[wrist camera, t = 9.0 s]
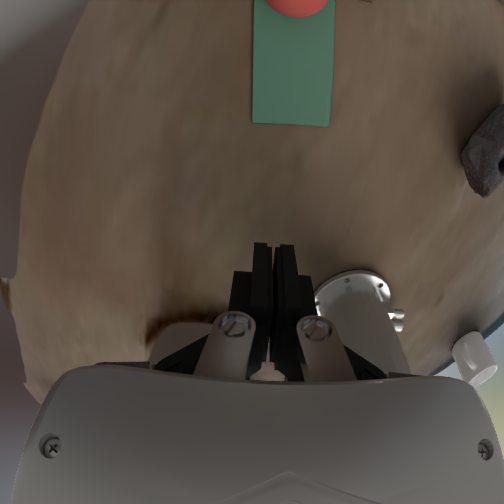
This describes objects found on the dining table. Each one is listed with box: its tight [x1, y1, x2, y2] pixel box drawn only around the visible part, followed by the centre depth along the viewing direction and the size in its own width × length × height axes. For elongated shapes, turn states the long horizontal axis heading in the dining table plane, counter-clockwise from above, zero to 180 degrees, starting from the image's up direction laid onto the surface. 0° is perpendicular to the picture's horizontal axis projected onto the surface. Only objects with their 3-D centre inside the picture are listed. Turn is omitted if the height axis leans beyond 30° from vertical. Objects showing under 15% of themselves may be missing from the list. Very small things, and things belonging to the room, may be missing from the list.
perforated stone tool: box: [460, 104, 504, 198], centre depth 24 cm, size 15×5×7 cm, turn 145°
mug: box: [452, 331, 497, 387], centre depth 46 cm, size 12×8×10 cm
